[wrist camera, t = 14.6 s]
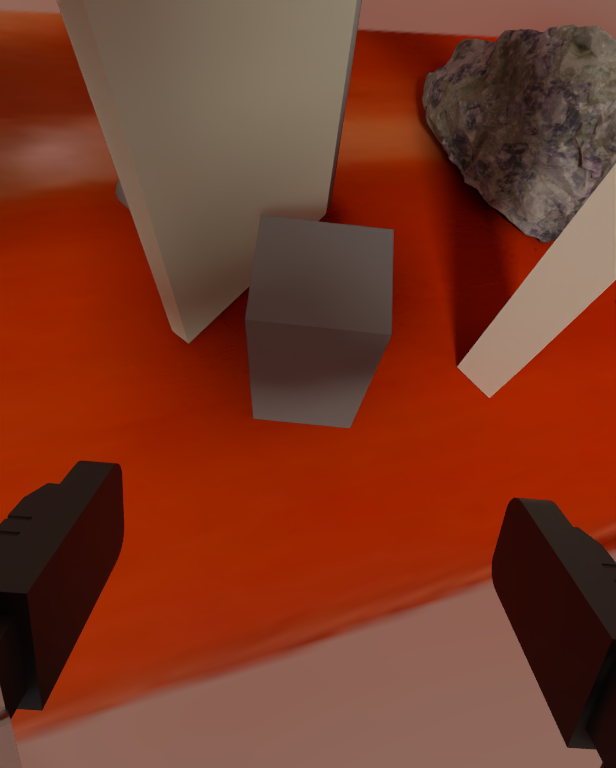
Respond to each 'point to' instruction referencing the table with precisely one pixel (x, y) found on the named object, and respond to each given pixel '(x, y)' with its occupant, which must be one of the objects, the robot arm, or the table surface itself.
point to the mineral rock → (529, 121)
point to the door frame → (550, 293)
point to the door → (215, 127)
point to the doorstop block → (317, 318)
